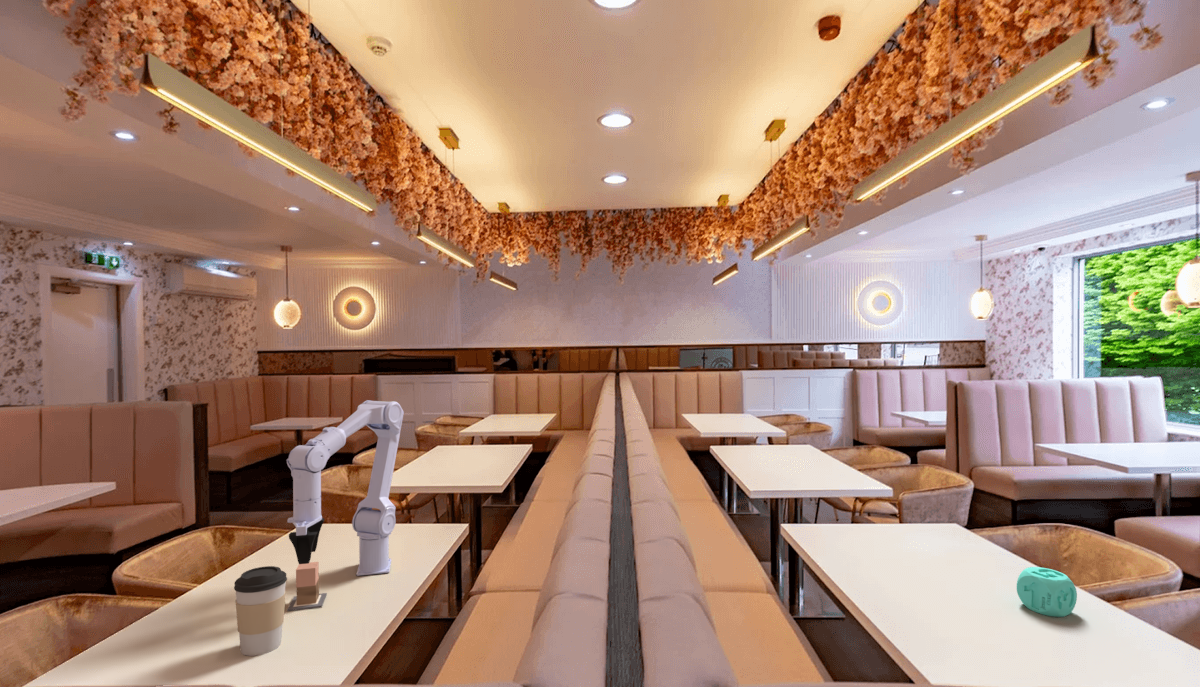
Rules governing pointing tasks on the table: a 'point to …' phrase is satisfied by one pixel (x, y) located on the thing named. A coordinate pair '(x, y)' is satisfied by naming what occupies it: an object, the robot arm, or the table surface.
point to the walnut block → (308, 594)
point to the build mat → (318, 604)
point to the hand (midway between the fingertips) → (307, 557)
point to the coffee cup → (260, 609)
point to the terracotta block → (307, 574)
